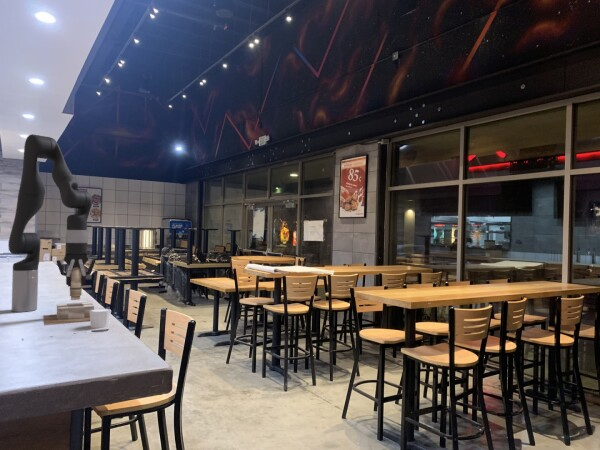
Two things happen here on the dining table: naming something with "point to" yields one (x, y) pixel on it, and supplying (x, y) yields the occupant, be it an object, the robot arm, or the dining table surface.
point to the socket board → (54, 320)
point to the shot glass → (100, 319)
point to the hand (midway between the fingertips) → (75, 285)
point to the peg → (76, 283)
